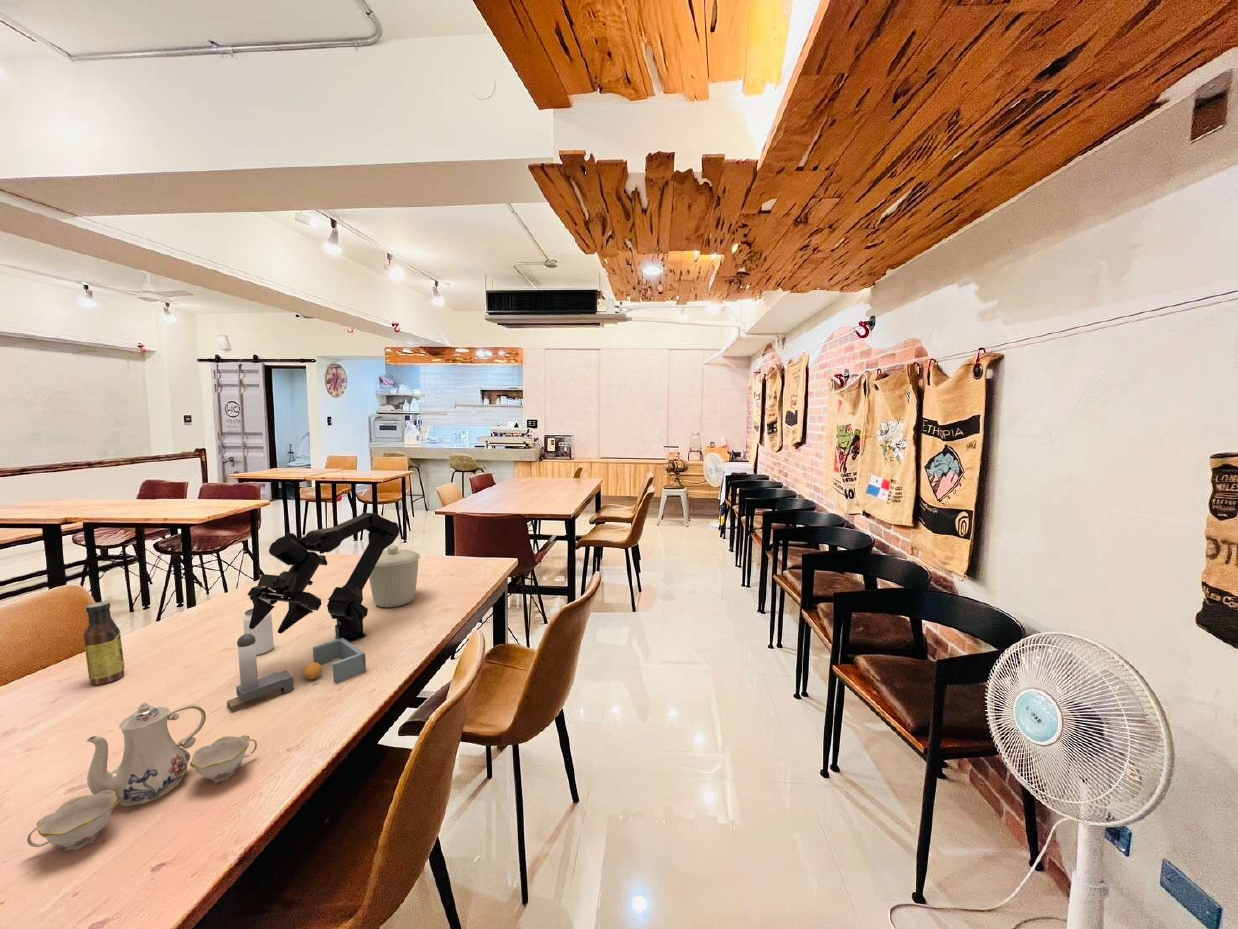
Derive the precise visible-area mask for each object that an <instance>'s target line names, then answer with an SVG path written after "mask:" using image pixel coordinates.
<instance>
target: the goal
mask: <svg viewBox="0 0 1238 929" xmlns="http://www.w3.org/2000/svg"><path fill="white" fill-rule="evenodd" d="M337 658H338V659H339V660H338V659H337ZM334 659H335V660H337V661H335V660H334ZM312 660H313V662H316V663H319V664H321V665H324V664H327V663H330V662H332V661H335V662H332V674H333V680H332V681H333V683H334V684H338V683H341V682H344V681H346V680H348V679H350V678H354V677H356V676H358V674H359V675H360V674H363V673H366V672H367V664H366V663H367V662H366V661H367V660H366V653H365V652H364V651H363V650H362V649H360V648H358V647H357V646H355V645H353V643H351V642H348V641H346V640H345V639H344V638H339V639H337V638H335V639H334V640H331V641H328V642H324V643H322V644H319V645H315V646H313V647H312ZM331 660H332V661H331ZM313 662H312V663H313ZM345 679H346V680H345Z"/></svg>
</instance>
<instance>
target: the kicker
mask: <svg viewBox="0 0 1238 929" xmlns="http://www.w3.org/2000/svg"><path fill="white" fill-rule="evenodd" d="M255 641H256V639H255V637H254V635H252V634H244V633H243V634H242V635H241V636H240V637H238V639H237V641H236V645H237V646H236V647H237V653H238V666H239V680H240V682H239V683H240V685H236V686H235V689H236V697H239V698H240V700H241V701H242V702H246V701H248V700H251V699H254V698H256V697H259V696H262V695H265V694H267V693H270V692H273V691H275V690H278V689H281V688H282V693H288V692H290V691H293V690H294V689H295V685H294V684H295V683H294V676H293V675H292V674H291V673H289V671H288V670H287V669H285V670H283V671H282V670H281V671H280V672H279V671H278V672H274V673H271V674H268V675H265V676H263V677H262V676H261V677H260V678H259V676H258V665H257V664H258V662H257V661H258V659H257V656H256V646H255Z"/></svg>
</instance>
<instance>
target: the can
mask: <svg viewBox="0 0 1238 929" xmlns="http://www.w3.org/2000/svg"><path fill="white" fill-rule="evenodd" d="M252 613H253V608H251V609H248V610H246V611H245V612H244V616H243V619H242V620H243V621H242V622H243V625H242V626H243V635H244V634H252V635H254V637H255V639H256V641H255V646H256V657H257V656H261V655H265V654H268V652H270V651H272V650H273V648H274V646H275V644H274V630H273V629H274V627H273V616H272V615H273V614H272V612H271V611H270V612H269V613H268V614H267V615H266V617H265V618H264V619H263V620H262V621H261V622H260V623H259V624H258V625H257V626H256V627H255V628H254V629H250V628H249V625H250V621H251V617H252Z"/></svg>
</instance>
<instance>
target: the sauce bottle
mask: <svg viewBox="0 0 1238 929" xmlns="http://www.w3.org/2000/svg"><path fill="white" fill-rule="evenodd" d="M85 609H86V610H85V611H86V613H87V616H88V626H87V628H86V629H85V631H84V632H83V639H84V652H85V659H86V667H87V674H88V680H89V681H90V685H93V686H100V685H106V684H110V683H112V682H115V681H117V680H119V679H121V678H122V677H123V676H125V659H124V652H123V643H122V637H121V630H120V629H119V626H118V625H117V624H116V622H115V621H114V619H113V618H112V616H111V611H110V610H111V604H110V601H99V602H94V603H91V604H88V605H86V606H85Z"/></svg>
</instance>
